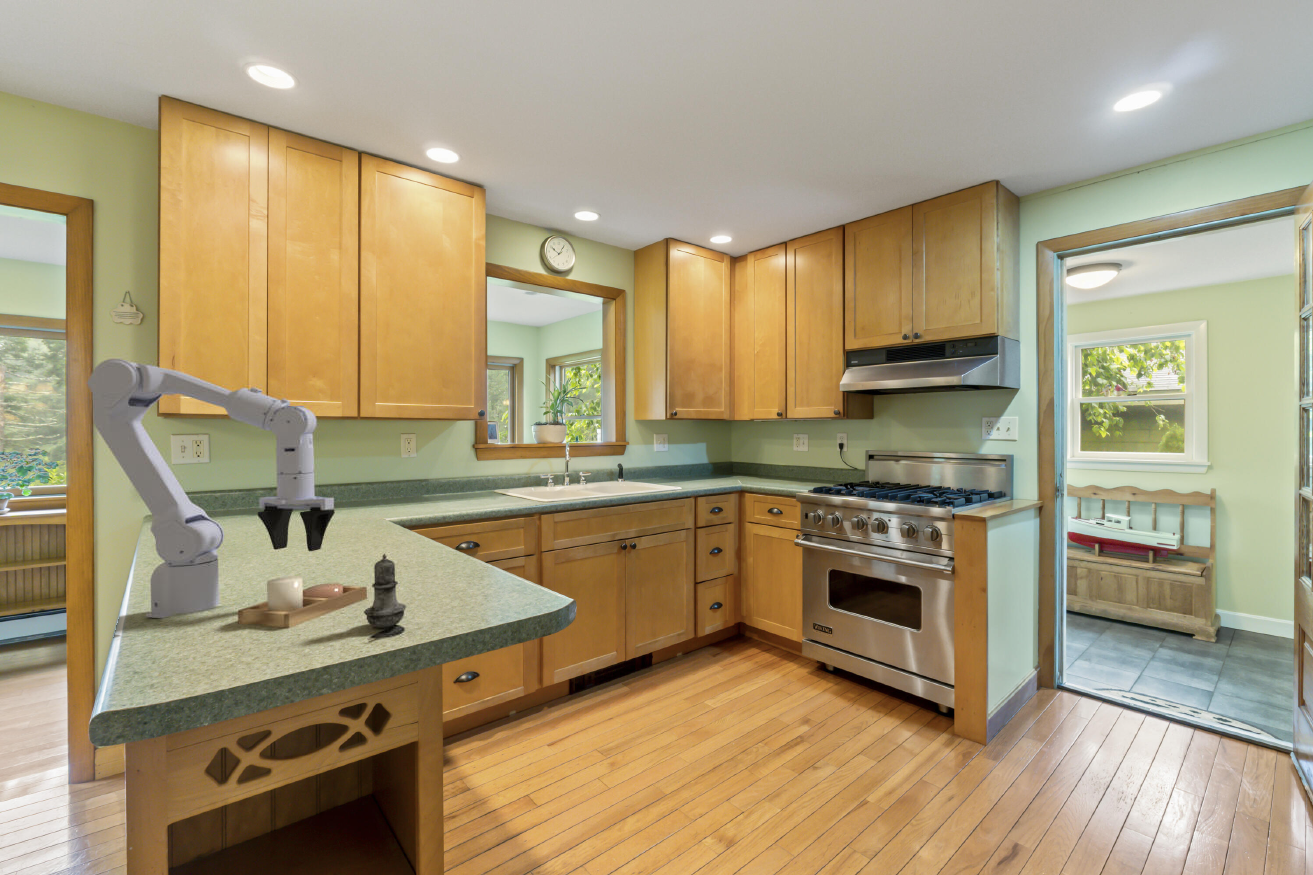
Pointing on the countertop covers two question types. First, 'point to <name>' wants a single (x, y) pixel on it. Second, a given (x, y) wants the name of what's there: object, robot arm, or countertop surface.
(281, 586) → the cream cylinder
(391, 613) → the salt shaker
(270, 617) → the tray
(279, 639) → the countertop surface
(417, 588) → the countertop surface
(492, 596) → the countertop surface
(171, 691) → the countertop surface
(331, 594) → the pinkish tan dome
